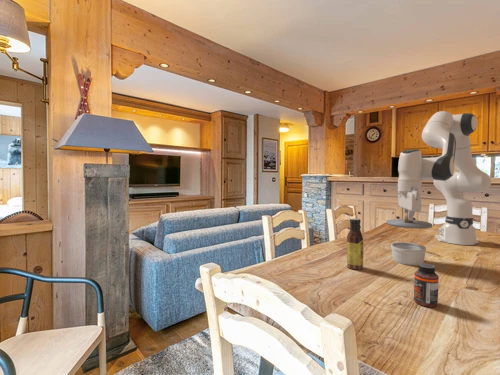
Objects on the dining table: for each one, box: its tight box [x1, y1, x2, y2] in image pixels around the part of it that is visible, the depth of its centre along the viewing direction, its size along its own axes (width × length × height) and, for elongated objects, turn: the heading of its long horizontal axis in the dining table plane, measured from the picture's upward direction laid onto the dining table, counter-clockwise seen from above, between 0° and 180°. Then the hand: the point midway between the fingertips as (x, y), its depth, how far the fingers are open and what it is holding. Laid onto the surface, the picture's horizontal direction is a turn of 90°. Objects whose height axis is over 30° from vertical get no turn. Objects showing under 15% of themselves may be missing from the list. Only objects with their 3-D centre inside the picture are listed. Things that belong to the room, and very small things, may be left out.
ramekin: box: [390, 241, 427, 266], centre depth 118 cm, size 13×13×7 cm
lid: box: [386, 213, 433, 230], centre depth 117 cm, size 17×17×5 cm
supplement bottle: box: [413, 262, 440, 308], centre depth 80 cm, size 6×6×11 cm
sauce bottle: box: [346, 218, 364, 270], centre depth 110 cm, size 6×6×20 cm
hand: (408, 219), depth 117 cm, fingers closed on lid, 3 cm apart
